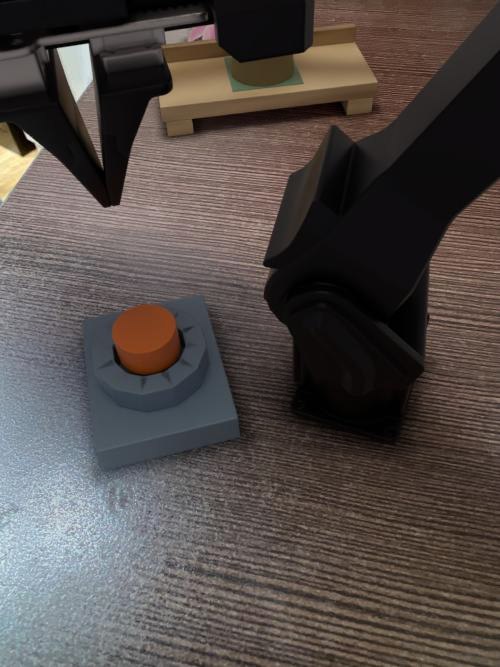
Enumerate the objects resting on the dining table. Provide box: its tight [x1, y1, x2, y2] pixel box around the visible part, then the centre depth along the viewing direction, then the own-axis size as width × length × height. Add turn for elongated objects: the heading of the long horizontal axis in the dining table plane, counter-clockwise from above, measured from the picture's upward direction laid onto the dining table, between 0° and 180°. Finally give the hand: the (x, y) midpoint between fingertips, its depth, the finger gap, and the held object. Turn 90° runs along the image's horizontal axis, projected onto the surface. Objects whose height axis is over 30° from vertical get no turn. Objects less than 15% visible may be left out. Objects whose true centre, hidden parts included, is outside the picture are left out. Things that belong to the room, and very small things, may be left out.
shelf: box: [158, 23, 379, 138], centre depth 58 cm, size 9×20×4 cm, turn 99°
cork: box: [231, 55, 295, 87], centre depth 53 cm, size 6×6×11 cm
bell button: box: [112, 303, 181, 375], centre depth 34 cm, size 4×4×2 cm
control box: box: [81, 293, 241, 472], centre depth 36 cm, size 10×8×4 cm
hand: (111, 201), depth 30 cm, fingers closed
